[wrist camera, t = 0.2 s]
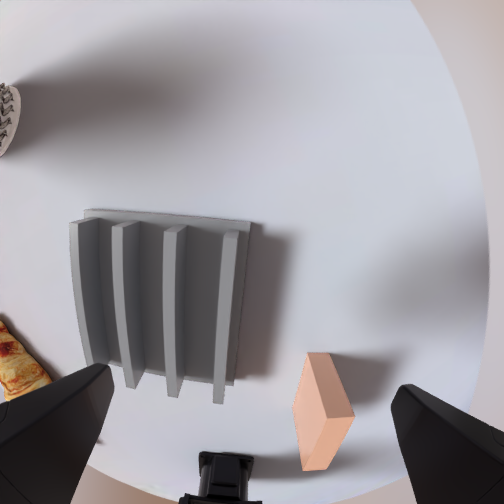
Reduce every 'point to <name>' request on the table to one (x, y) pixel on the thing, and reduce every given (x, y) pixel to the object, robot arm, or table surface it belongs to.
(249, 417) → the table surface
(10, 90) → the black-white patterned cylinder
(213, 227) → the dish rack
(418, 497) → the robot arm
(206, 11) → the table surface
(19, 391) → the croissant
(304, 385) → the terracotta plate
